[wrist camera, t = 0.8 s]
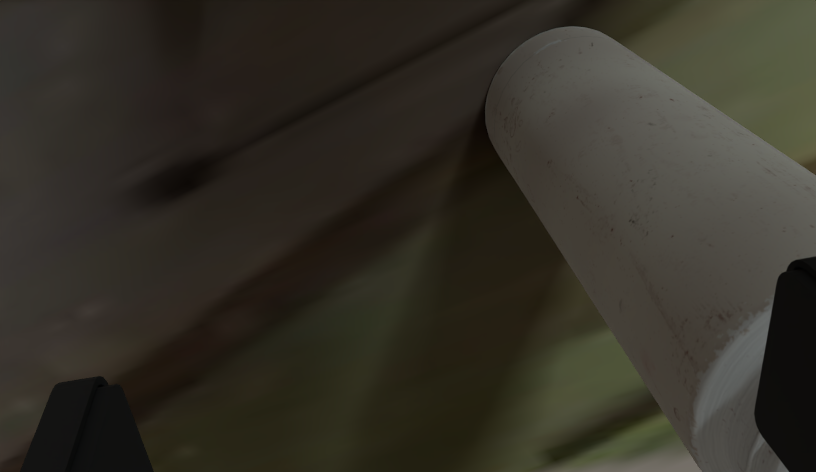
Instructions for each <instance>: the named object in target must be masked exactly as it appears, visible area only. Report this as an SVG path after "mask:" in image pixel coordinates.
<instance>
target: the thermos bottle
mask: <svg viewBox="0 0 816 472" xmlns="http://www.w3.org/2000/svg"><path fill="white" fill-rule="evenodd" d="M485 121H486V127H487V131H488V135H489V138H490V140H491V142H492V144H493V146H494V148H495V150H496V152H497V153H498V155H499V156H500V158H501V160H502V161H503V163H504V164H505V166H506V168H507V169H508V171H509V172H510V174H511V175H512V177H513V178H514V180H515V181H516V183H517V184H518V186H519V187H520V189H521V191H522V192H523V194H524V195H525V197H526V198H527V200H528V202H529V203H530V205H531V206H532V208H533V209H534V211H535V213H536V214H537V216H538V217H539V219H540V220H541V222H542V223H543V225H544V227H545V228H546V230H547V231H548V233H549V234H550V236H551V237H552V239H553V241H554V242H555V244H556V245H557V247H558V248H559V250H560V252H561V253H562V255H563V256H564V258H565V259H566V261H567V262H568V264H569V266H570V267H571V269H572V270H573V272H574V273H575V275H576V276H577V278H578V280H579V281H580V283H581V284H582V286H583V287H584V289H585V291H586V292H587V294H588V295H589V297H590V298H591V300H592V301H593V303H594V305H595V306H596V308H597V309H598V311H599V312H600V314H601V315H602V317H603V319H604V320H605V322H606V323H607V325H608V326H609V328H610V330H611V331H612V333H613V334H614V336H615V337H616V339H617V340H618V342H619V344H620V345H621V347H622V348H623V350H624V351H625V353H626V354H627V356H628V358H629V359H630V361H631V362H632V364H633V365H634V367H635V368H636V370H637V372H638V373H639V375H640V376H641V378H642V379H643V381H644V383H645V384H646V386H647V387H648V389H649V390H650V392H651V393H652V395H653V397H654V398H655V400H656V401H657V403H658V404H659V406H660V407H661V409H662V411H663V412H664V414H665V415H666V417H667V418H668V420H669V422H670V423H671V425H672V426H673V428H674V429H675V431H676V432H677V434H678V436H679V437H680V439H681V440H682V442H683V443H684V445H685V446H686V448H687V450H688V451H689V453H690V454H691V456H692V457H693V459H694V461H695V462H696V463H697V465H698V467H699V468H700V469H701V470H702V472H789V471H788V470H787V468H786V467H785V466H784V464H783V463H782V462H781V461H780V459H779V458H778V457H777V455H776V454H775V453H774V451H773V450H772V449H771V448H770V446H769V445H768V444H767V442H766V441H765V440H764V438H763V437H762V435H761V434H760V432H759V430H758V428H757V425H756V422H755V416H754V409H755V403H756V398H757V392H758V386H759V381H760V375H761V369H762V363H763V358H764V352H765V346H766V341H767V335H768V329H769V323H770V318H771V312H772V306H773V301H774V295H775V289H776V284H777V280H778V277H779V275H780V274H781V273H783V272H786V270H787V267H788V266H789V264H790V263H791V262H792V261H794V260H797V259H803V258H809V257H815V256H816V175H814V174H813V173H811V172H810V171H808V170H807V169H805V168H804V167H802V166H801V165H799V164H798V163H796V162H795V161H793V160H792V159H790V158H789V157H788V156H786V155H785V154H783V153H782V152H780V151H779V150H777V149H776V148H774V147H773V146H771V145H770V144H768V143H767V142H765V141H764V140H762V139H761V138H759V137H758V136H756V135H755V134H753V133H752V132H750V131H749V130H747V129H746V128H744V127H743V126H741V125H740V124H738V123H737V122H736V121H734V120H733V119H731V118H730V117H728V116H727V115H725V114H724V113H722V112H721V111H719V110H718V109H716V108H715V107H713V106H712V105H710V104H709V103H707V102H706V101H704V100H703V99H701V98H700V97H698V96H697V95H695V94H694V93H692V92H691V91H689V90H688V89H687V88H685V87H684V86H682V85H681V84H679V83H678V82H676V81H675V80H673V79H672V78H670V77H669V76H667V75H666V74H664V73H663V72H661V71H660V70H658V69H657V68H655V67H654V66H652V65H651V64H649V63H648V62H646V61H645V60H643V59H642V58H640V57H639V56H637V55H636V54H635V53H633V52H632V51H630V50H629V49H627V48H626V47H624V46H623V45H621V44H620V43H618V42H617V41H615V40H614V39H612V38H610V37H608V36H607V35H605V34H603V33H602V32H599V31H596V30H593V29H589V28H586V27H573V26H570V27H562V28H555V29H552V30H549V31H546V32H543V33H540V34H538V35H536V36H534V37H532V38H531V39H529V40H527V41H525V42H524V43H523V44H521V45H520V46H519V47H518V48H517V49H515V50H514V51H513V52H512V53H511V54H510V55H509V56H508V57H507V59H506V60H505V61H504V62H503V63H502V64H501V66H500V68H499V69H498V71H497V73H496V74H495V76H494V78H493V80H492V83H491V86H490V88H489V91H488V94H487V100H486V106H485Z"/></svg>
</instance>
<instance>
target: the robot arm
mask: <svg viewBox="0 0 816 472" xmlns="http://www.w3.org/2000/svg"><path fill="white" fill-rule="evenodd" d="M754 416H755V422H756V425H757V428H758V430H759V432H760V434H761V435H762V437H763V438H764V440H765V441H766V442H767V444H768V445H769V446H770V448H771V449H772V450H773V451H774V453H775V454H776V455H777V457H778V458H779V459H780V461H781V462H782V463H783V464H784V466H785V467H786V468H787V470H788V471H789V472H816V256H815V257H809V258H803V259H797V260H794V261H792V262H791V263H790V264H789V266H788V267H787V270H786V272H783V273H781V274H780V275H779V277H778V280H777V284H776V289H775V295H774V301H773V306H772V312H771V318H770V323H769V329H768V335H767V341H766V346H765V352H764V358H763V363H762V369H761V375H760V381H759V386H758V392H757V398H756V403H755V409H754ZM20 472H154V471H153V468H152V466H151V463H150V460H149V458H148V455H147V452H146V450H145V447H144V444H143V442H142V439H141V436H140V434H139V431H138V428H137V426H136V423H135V420H134V418H133V415H132V413H131V410H130V407H129V405H128V402H127V399H126V397H125V394H124V391H123V389H122V387H121V386H120V385H118V384H115V385H108V383H107V381H106V380H105V379H104V378H103V377H101V376H98V377H92V378H86V379H80V380H74V381H68V382H62V383H58V384H56V385H55V387H54V388H53V390H52V392H51V395H50V397H49V400H48V402H47V405H46V407H45V410H44V412H43V415H42V417H41V420H40V423H39V425H38V428H37V430H36V433H35V435H34V438H33V440H32V443H31V445H30V448H29V450H28V453H27V455H26V458H25V461H24V463H23V466H22V468H21V471H20Z"/></svg>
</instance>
